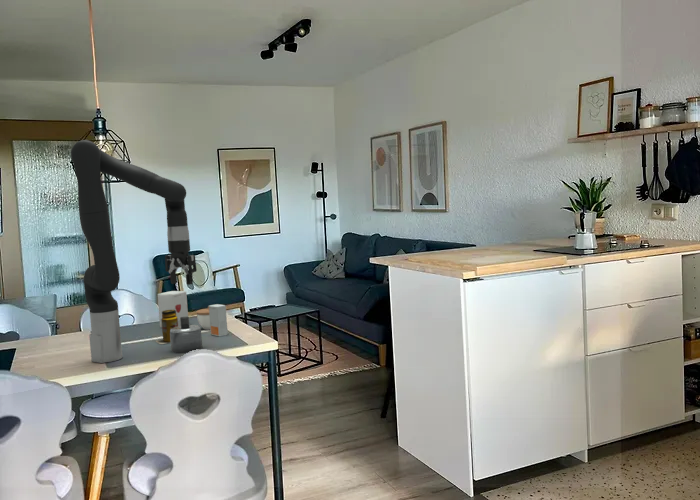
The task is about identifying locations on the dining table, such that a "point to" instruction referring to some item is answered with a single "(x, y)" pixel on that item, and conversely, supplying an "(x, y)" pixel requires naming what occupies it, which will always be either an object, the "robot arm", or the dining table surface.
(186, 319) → the lid
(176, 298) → the supplement box
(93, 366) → the dining table surface
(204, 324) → the lidded jar
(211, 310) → the skincare box
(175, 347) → the grey block
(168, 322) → the condiment
